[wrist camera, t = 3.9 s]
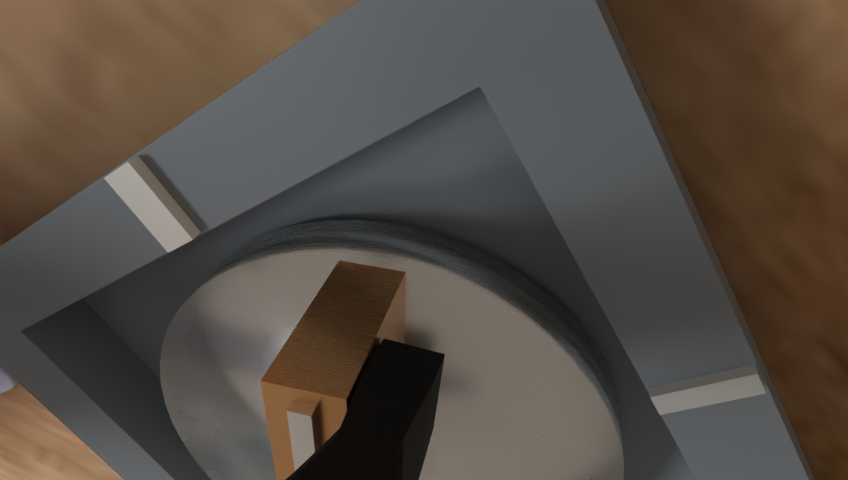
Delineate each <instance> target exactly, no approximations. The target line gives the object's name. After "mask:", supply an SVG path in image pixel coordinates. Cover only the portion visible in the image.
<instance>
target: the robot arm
mask: <svg viewBox="0 0 848 480" xmlns="http://www.w3.org/2000/svg"><path fill="white" fill-rule="evenodd" d="M444 357H445V354H443V353H439V352H435V351H431V350H427V349H423V348H419V347H416V346H412V345H408V344H404V343H400V342H396V341H392V340H388V339H385V338H384V339H383V341H382V342H381V343H380V345H379V346H378V348H377V349H376V351H375V352H374V354H373V355H372V357H371V359H370V360H369V362H368V363H367V365H366V367H365V369H364V371H363V373H362V376H361V378H360V381H359V383H358V385H357V388H356V390H355V393H354V395H353V397H352V400H351V402H350V405H349V407H348V410H347V412H346V415H345V417H344V419H343V422H342V424H341V427H340V428H339V429H338V430H337V431H336V432H335V433H334V434H333V435H332V436H331V437H330V438H329V439H328V440H327V441H326V442H325V443H324V444H323V445H322V446H321V447H320V448H319V449H318V450H317V451H316V452H315V453H314V454H313V455H312V456H310V457H309V458H308V459H307V460H306V461H305V462H304V463H303V464H302V465H301V466H300V467H299V468H298V469H297V470H296V471H295V472H293V473H292V474H291V475H290V476H289V477H288V478H287V479H285V480H419V477H420V474H421V470H422V467H423V463H424V460H425V457H426V453H427V449H428V446H429V442H430V439H431V435H432V432H433V428H434V422H435V415H436V409H437V402H438V396H439V389H440V383H441V376H442V370H443V364H444ZM18 383H19V382H18V381H17V380H16V379H15V378H13V377H12V376H11V375H10V374H9V373H8V372H7V371H6V370H5V369H4V368H3V367H1V366H0V394H1V393H4V392H6V391H8V390H10V389H12V388H14V387H15V386H16V385H17V384H18Z"/></svg>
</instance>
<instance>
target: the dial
mask: <svg viewBox="0 0 848 480" xmlns="http://www.w3.org/2000/svg"><path fill="white" fill-rule="evenodd" d="M384 338H385V339H388V340H392V341H396V342H400V343H404V344H408V345H412V346H416V347H419V348H423V349H427V350H431V351H435V352H439V353H443V354H445V357H444V364H443V370H442V376H441V383H440V389H439V396H438V402H437V409H436V415H435V422H434V428H433V432H432V435H431V439H430V442H429V446H428V449H427V453H426V457H425V460H424V463H423V467H422V470H421V474H420V477H419V480H624V458H623V440H622V423H621V413H620V408H619V402H618V396H617V392H616V389H615V386H614V384H613V381H612V378H611V375H610V373H609V370H608V368H607V366H606V364H605V362H604V361H603V359H602V357H601V355H600V354H599V352H598V350H597V348H596V347H595V345H594V343H593V342H592V341H591V339H590V338H589V337H588V336H587V334H586V333H585V332H584V330H583V329H582V328H581V326H580V325H579V324H578V323H577V321H576V320H575V319H574V318H573V317H572V316H571V315H570V314H569V313H568V312H567V311H566V310H565V309H564V308H563V307H562V306H561V305H560V304H559V303H558V302H557V301H556V300H555V299H554V298H553V297H552V296H550V295H549V294H548V293H546V292H545V291H544V290H543V289H541V288H540V287H539V286H537V285H536V284H535V283H534V282H532V281H531V280H530V279H528V278H527V277H526V276H524V275H523V274H521V273H519V272H518V271H516V270H514V269H513V268H511V267H509V266H508V265H506V264H504V263H503V262H501V261H499V260H498V259H496V258H494V257H492V256H490V255H488V254H486V253H484V252H482V251H479V250H477V249H475V248H473V247H471V246H469V245H466V244H464V243H462V242H459V241H456V240H454V239H451V238H448V237H445V236H442V235H439V234H436V233H433V232H430V231H427V230H422V229H417V228H413V227H408V226H403V225H399V224H394V223H387V222H377V221H367V220H324V221H318V222H311V223H305V224H298V225H294V226H290V227H287V228H284V229H281V230H277V231H274V232H271V233H268V234H266V235H264V236H262V237H260V238H258V239H256V240H254V241H252V242H249V243H247V244H246V245H244V246H243V247H241V248H240V249H239V250H237V251H236V252H234V253H233V254H232V255H230V256H229V257H228V258H226V259H225V260H224V262H223V263H222V264H221V265H220V266H219V267H218V268H217V269H216V270H215V271H214V272H213V273H212V274H211V275H210V276H209V277H208V278H207V279H206V280H205V282H204V283H203V284H202V285H201V286H200V287H199V288H198V289H197V290H196V291H195V292H194V293H193V294H192V295H191V296H190V297H189V298H188V299H187V300H186V302H185V303H184V304H183V305H182V306H181V307H180V308H179V310H178V311H177V313H176V315H175V316H174V318H173V319H172V321H171V323H170V324H169V327H168V329H167V332H166V335H165V338H164V341H163V344H162V350H161V358H160V379H161V387H162V392H163V396H164V401H165V405H166V407H167V410H168V412H169V415H170V418H171V420H172V423H173V425H174V427H175V429H176V431H177V432H178V434H179V436H180V438H181V440H182V442H183V443H184V445H185V446H186V448H187V449H188V451H189V452H190V454H191V455H192V457H193V458H194V460H195V461H196V462H197V463H198V465H199V466H200V467H201V468H202V469H203V471H204V472H205V473H206V474H207V475H208V477H209V478H210V479H211V480H285V479H287V478H288V477H289V476H290V475H291V474H292V473H293V472H295V471H296V470H297V469H298V468H299V467H300V466H301V465H302V464H303V463H304V462H305V461H306V460H307V459H308V458H309V457H310V456H312V455H313V454H314V453H315V452H316V451H317V450H318V449H319V448H320V447H321V446H322V445H323V444H324V443H325V442H326V441H327V440H328V439H329V438H330V437H331V436H332V435H333V434H334V433H335V432H336V431H337V430H338V429H339V428H340V427H341V424H342V422H343V419H344V417H345V415H346V412H347V410H348V407H349V405H350V402H351V400H352V397H353V395H354V393H355V390H356V388H357V385H358V383H359V381H360V378H361V376H362V373H363V371H364V369H365V367H366V365H367V363H368V362H369V360H370V359H371V357H372V355H373V354H374V352H375V351H376V349H377V348H378V346H379V345H380V343H381V342H382V341H383V339H384Z"/></svg>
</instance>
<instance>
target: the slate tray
mask: <svg viewBox="0 0 848 480" xmlns="http://www.w3.org/2000/svg"><path fill="white" fill-rule="evenodd" d="M324 220H367V221H377V222H387V223H394V224H399V225H403V226H408V227H413V228H417V229H422V230H427V231H430V232H433V233H436V234H439V235H442V236H445V237H448V238H451V239H454V240H456V241H459V242H462V243H464V244H466V245H469V246H471V247H473V248H475V249H477V250H479V251H482V252H484V253H486V254H488V255H490V256H492V257H494V258H496V259H498V260H499V261H501V262H503V263H504V264H506V265H508V266H509V267H511V268H513V269H514V270H516V271H518V272H519V273H521V274H523V275H524V276H526V277H527V278H528V279H530V280H531V281H532V282H534V283H535V284H536V285H537V286H539V287H540V288H541V289H543V290H544V291H545V292H546V293H548V294H549V295H550V296H552V297H553V298H554V299H555V300H556V301H557V302H558V303H559V304H560V305H561V306H562V307H563V308H564V309H565V310H566V311H567V312H568V313H569V314H570V315H571V316H572V317H573V318H574V319H575V320H576V321H577V323H578V324H579V325H580V326H581V328H582V329H583V330H584V332H585V333H586V334H587V336H588V337H589V338H590V339H591V341H592V342H593V343H594V345H595V347H596V348H597V350H598V352H599V354H600V355H601V357H602V359H603V361H604V362H605V364H606V366H607V368H608V370H609V373H610V375H611V378H612V381H613V384H614V386H615V389H616V392H617V396H618V402H619V408H620V413H621V423H622V440H623V458H624V480H816V479H815V477H814V475H813V473H812V470H811V468H810V466H809V463H808V461H807V459H806V457H805V454H804V452H803V450H802V448H801V445H800V443H799V441H798V438H797V436H796V434H795V432H794V429H793V427H792V425H791V422H790V420H789V418H788V416H787V413H786V411H785V409H784V407H783V404H782V402H781V400H780V397H779V395H778V393H777V391H776V388H775V386H774V384H773V381H772V379H771V377H770V375H769V372H768V370H767V368H766V366H765V363H764V361H763V359H762V356H761V354H760V352H759V350H758V347H757V345H756V343H755V341H754V338H753V336H752V334H751V331H750V329H749V327H748V325H747V322H746V320H745V318H744V315H743V313H742V311H741V309H740V306H739V304H738V302H737V300H736V297H735V295H734V293H733V290H732V288H731V286H730V284H729V281H728V279H727V277H726V274H725V272H724V270H723V268H722V265H721V263H720V261H719V259H718V256H717V254H716V252H715V249H714V247H713V245H712V243H711V240H710V238H709V236H708V234H707V231H706V229H705V227H704V224H703V222H702V220H701V218H700V215H699V213H698V211H697V208H696V206H695V204H694V202H693V199H692V197H691V195H690V193H689V190H688V188H687V186H686V183H685V181H684V179H683V177H682V174H681V172H680V170H679V167H678V165H677V163H676V161H675V158H674V156H673V154H672V152H671V149H670V147H669V145H668V142H667V140H666V138H665V136H664V133H663V131H662V129H661V126H660V124H659V122H658V120H657V117H656V115H655V113H654V111H653V108H652V106H651V104H650V101H649V99H648V97H647V95H646V92H645V90H644V88H643V86H642V83H641V81H640V79H639V76H638V74H637V72H636V70H635V67H634V65H633V63H632V60H631V58H630V56H629V54H628V51H627V49H626V47H625V45H624V42H623V40H622V38H621V35H620V33H619V31H618V29H617V26H616V24H615V22H614V19H613V17H612V15H611V13H610V10H609V8H608V6H607V4H606V1H605V0H359V1H357V2H356V3H354V4H353V5H352V6H350V7H349V8H347V9H346V10H344V11H343V12H341V13H340V14H338V15H337V16H335V17H334V18H333V19H331V20H330V21H328V22H327V23H325V24H324V25H322V26H321V27H319V28H318V29H317V30H315V31H314V32H312V33H311V34H309V35H308V36H306V37H305V38H303V39H302V40H300V41H299V42H298V43H296V44H295V45H293V46H292V47H290V48H289V49H287V50H286V51H284V52H283V53H282V54H280V55H279V56H277V57H276V58H274V59H273V60H271V61H270V62H268V63H267V64H265V65H264V66H263V67H261V68H260V69H258V70H257V71H255V72H254V73H252V74H251V75H249V76H248V77H247V78H245V79H244V80H242V81H241V82H239V83H238V84H236V85H235V86H233V87H232V88H230V89H229V90H228V91H226V92H225V93H223V94H222V95H220V96H219V97H217V98H216V99H214V100H213V101H212V102H210V103H209V104H207V105H206V106H204V107H203V108H201V109H200V110H198V111H197V112H195V113H194V114H193V115H191V116H190V117H188V118H187V119H185V120H184V121H182V122H181V123H179V124H178V125H177V126H175V127H174V128H172V129H171V130H169V131H168V132H166V133H165V134H163V135H162V136H160V137H159V138H158V139H156V140H155V141H153V142H152V143H150V144H149V145H147V146H146V147H144V148H143V149H142V150H140V151H139V152H137V153H136V154H134V155H133V156H131V157H130V158H128V159H127V160H125V161H124V162H123V163H121V164H120V165H118V166H117V167H115V168H114V169H112V170H111V171H109V172H108V173H107V174H105V175H104V176H102V177H101V178H99V179H98V180H96V181H95V182H93V183H92V184H90V185H89V186H88V187H86V188H85V189H83V190H82V191H80V192H79V193H77V194H76V195H74V196H73V197H72V198H70V199H69V200H67V201H66V202H64V203H63V204H61V205H60V206H58V207H57V208H55V209H54V210H53V211H51V212H50V213H48V214H47V215H45V216H44V217H42V218H41V219H39V220H38V221H37V222H35V223H34V224H32V225H31V226H29V227H28V228H26V229H25V230H23V231H22V232H20V233H19V234H18V235H16V236H15V237H13V238H12V239H10V240H9V241H7V242H6V243H4V244H3V245H2V246H0V366H1V367H3V368H4V369H5V370H6V371H7V372H8V373H9V374H10V375H11V376H12V377H13V378H15V379H16V380H17V381H18V382H19V383H20V384H21V385H22V386H23V387H24V388H25V389H26V390H28V391H29V392H30V393H31V394H32V395H33V396H34V397H35V398H36V399H37V400H38V401H39V402H41V403H42V404H43V405H44V406H45V407H46V408H47V409H48V410H49V411H50V412H51V413H52V414H54V415H55V416H56V417H57V418H58V419H59V420H60V421H61V422H62V423H63V424H64V425H66V426H67V427H68V428H69V429H70V430H71V431H72V432H73V433H74V434H75V435H76V436H77V437H79V438H80V439H81V440H82V441H83V442H84V443H85V444H86V445H87V446H88V447H89V448H90V449H92V450H93V451H94V452H95V453H96V454H97V455H98V456H99V457H100V458H101V459H102V460H103V461H105V462H106V463H107V464H108V465H109V466H110V467H111V468H112V469H113V470H114V471H115V472H117V473H118V474H119V475H120V476H121V477H122V478H123V479H124V480H211V479H210V478H209V477H208V475H207V474H206V473H205V472H204V471H203V469H202V468H201V467H200V466H199V465H198V463H197V462H196V461H195V460H194V458H193V457H192V455H191V454H190V452H189V451H188V449H187V448H186V446H185V445H184V443H183V442H182V440H181V438H180V436H179V434H178V432H177V431H176V429H175V427H174V425H173V423H172V420H171V418H170V415H169V412H168V410H167V407H166V405H165V401H164V396H163V392H162V387H161V379H160V358H161V350H162V344H163V341H164V338H165V335H166V332H167V329H168V327H169V324H170V323H171V321H172V319H173V318H174V316H175V315H176V313H177V311H178V310H179V308H180V307H181V306H182V305H183V304H184V303H185V302H186V300H187V299H188V298H189V297H190V296H191V295H192V294H193V293H194V292H195V291H196V290H197V289H198V288H199V287H200V286H201V285H202V284H203V283H204V282H205V280H206V279H207V278H208V277H209V276H210V275H211V274H212V273H213V272H214V271H215V270H216V269H217V268H218V267H219V266H220V265H221V264H222V263H223V262H224V260H225V259H226V258H228V257H229V256H230V255H232V254H233V253H234V252H236V251H237V250H239V249H240V248H241V247H243V246H244V245H246V244H247V243H249V242H252V241H254V240H256V239H258V238H260V237H262V236H264V235H266V234H268V233H271V232H274V231H277V230H281V229H284V228H287V227H290V226H294V225H298V224H305V223H311V222H318V221H324Z"/></svg>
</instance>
